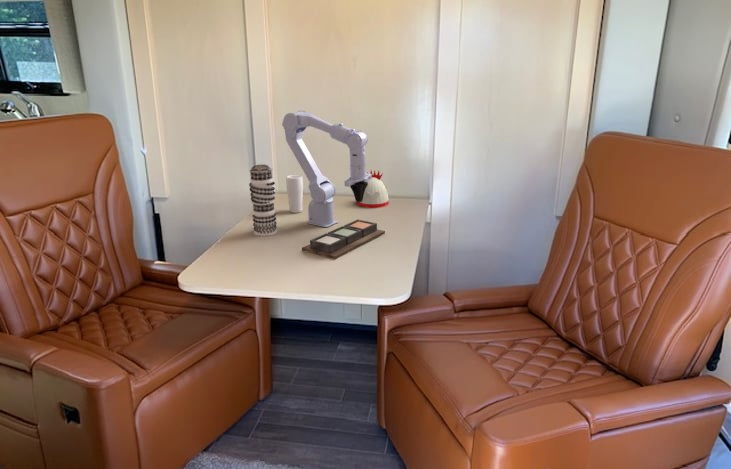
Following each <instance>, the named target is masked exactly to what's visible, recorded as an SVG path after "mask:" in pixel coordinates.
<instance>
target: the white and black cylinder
mask: <svg viewBox="0 0 731 469" xmlns="http://www.w3.org/2000/svg"><path fill="white" fill-rule="evenodd" d="M272 171H273V168H271V167H270V166H269V165H268V164H256V165H253V166H252V167H251V169H249V172H250V183H249V184H248V186H249V191H250V200H251V204H252V208H253V209H252V218H253V219H252V221H253V224H252V225H253V230H254V231H253V234H254V235H256V236H259V235H260V236H259V237H267V236H272V235H275V234H277V232H278V231H277V228H278V227H277V221H276V220H277V217H276V215H277V213H276V208H275V204H274V203H275V202H276V197H275V196H274V195H275V193H276V191H274V190H276V189H275V188H276V187H274V185H275V183H276V182H274V179H273V173H272Z"/></svg>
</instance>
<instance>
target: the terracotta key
mask: <svg viewBox="0 0 731 469" xmlns="http://www.w3.org/2000/svg"><path fill="white" fill-rule="evenodd" d="M370 225H372V224H368V223H363V222H356V223H354V224H352V225H350V226H353V227H358V228H362V229H363V228H366V227H368V226H370Z"/></svg>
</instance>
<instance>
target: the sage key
mask: <svg viewBox="0 0 731 469" xmlns="http://www.w3.org/2000/svg"><path fill="white" fill-rule="evenodd" d="M355 232H357V231H353V230H348V229H344V228H343V229H341V230H339V231H336V232H334V233H335V234H340V235H344V236H349V235H351V234H353V233H355Z"/></svg>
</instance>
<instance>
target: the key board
mask: <svg viewBox="0 0 731 469" xmlns="http://www.w3.org/2000/svg"><path fill="white" fill-rule="evenodd" d="M356 222H363V223H368V224H372V225H370V226H368V227H366V228H363V229H362V228H358V227H353V226H350V225H352V224H354V223H356ZM343 228H344V229H348V230H353V231H357V232H355V233H353V234H351V235H349V236H344V235H340V234H335V233H334V232H336V231H339V230H341V229H343ZM385 233H386V231H385V230H381V229H378V223H377V222H372V221H367V220H362V219H355V220H353V221H351V222H349V223H346V224H344V225H342V226H340V227H337V228H335V229H333V230H331V231H328V232H327V233H324V234H321V235H320V236H316V237H314V238H313V239H310V241H309V244H307V245H305V246H303V247H301V251H303V252H306V253H309V254H313V255H318V256H321V257H324V258H329V259H332V260H336V259H338V258H341V257H342V256H344V255H346V254H348V253H350V252H352V251H354V250H356V249H358V248H360V247H362V246H363V245H366V244H367V243H369V242H372V241H373V240H375V239H377V238H379V237H381V236H383V235H385ZM325 236H330V237H334V238H338V239H340V240H338V241H336V242H334V243H332V244H326V243H322V242H318V241H316V240H318V239H321V238H323V237H325Z"/></svg>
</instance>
